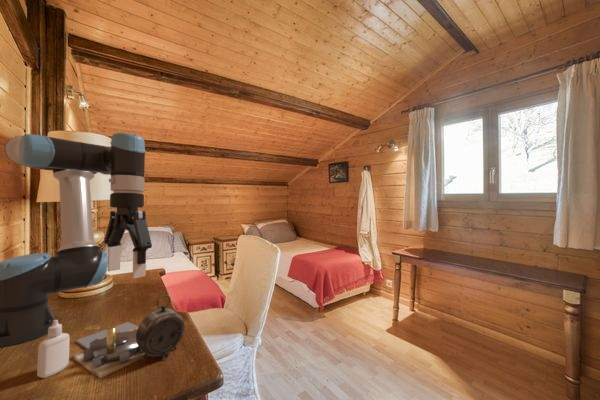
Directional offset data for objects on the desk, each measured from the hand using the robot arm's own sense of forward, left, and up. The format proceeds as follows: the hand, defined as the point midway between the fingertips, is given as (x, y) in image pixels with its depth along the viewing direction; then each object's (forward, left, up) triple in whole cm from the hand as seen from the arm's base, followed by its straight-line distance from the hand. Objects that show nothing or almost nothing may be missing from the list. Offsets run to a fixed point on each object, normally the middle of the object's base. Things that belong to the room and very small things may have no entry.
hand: (125, 273), depth 69 cm
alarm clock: (+8, +6, -22) cm, 24 cm away
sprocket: (-3, +1, -21) cm, 21 cm away
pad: (-15, +4, -22) cm, 27 cm away
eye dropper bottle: (-8, -11, -22) cm, 26 cm away
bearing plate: (-3, +1, -22) cm, 22 cm away
